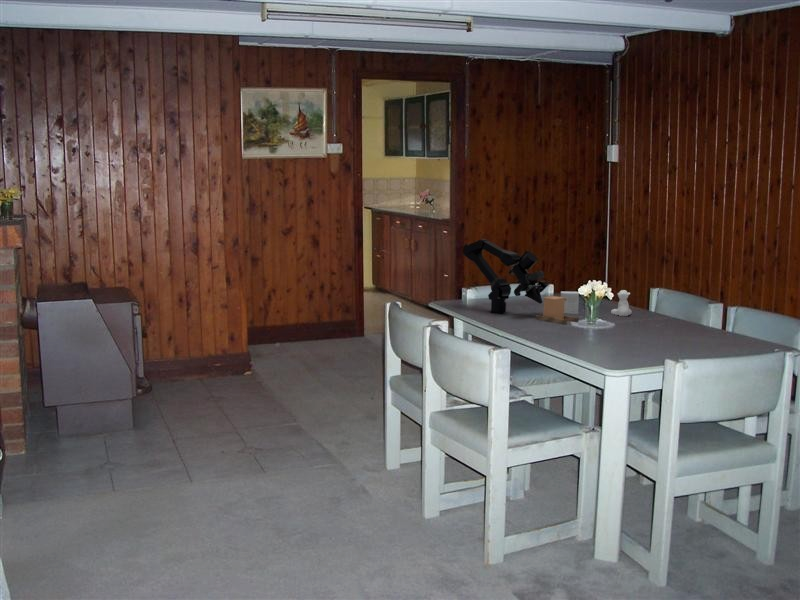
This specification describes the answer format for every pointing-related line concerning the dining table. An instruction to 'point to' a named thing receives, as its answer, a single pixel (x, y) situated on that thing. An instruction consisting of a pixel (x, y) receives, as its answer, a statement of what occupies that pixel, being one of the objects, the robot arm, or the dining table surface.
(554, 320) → the chute
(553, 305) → the block
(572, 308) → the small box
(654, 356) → the dining table surface
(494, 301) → the robot arm
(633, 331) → the dining table surface
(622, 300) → the white creature statuette
